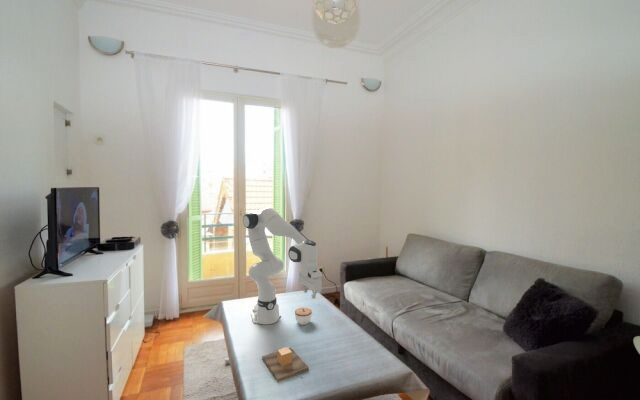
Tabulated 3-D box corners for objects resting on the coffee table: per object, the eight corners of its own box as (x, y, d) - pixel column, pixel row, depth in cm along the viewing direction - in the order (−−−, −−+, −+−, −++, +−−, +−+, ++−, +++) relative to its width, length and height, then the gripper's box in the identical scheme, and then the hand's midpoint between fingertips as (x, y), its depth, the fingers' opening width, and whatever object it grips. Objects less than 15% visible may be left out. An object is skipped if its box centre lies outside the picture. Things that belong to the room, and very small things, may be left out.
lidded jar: (312, 319, 195) (312, 305, 194) (310, 327, 184) (310, 312, 183) (296, 318, 196) (296, 304, 195) (293, 326, 185) (293, 311, 185)
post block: (262, 359, 152) (261, 349, 151) (290, 349, 160) (290, 340, 160) (277, 382, 135) (277, 370, 134) (308, 370, 143) (308, 359, 143)
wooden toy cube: (277, 360, 148) (277, 349, 148) (287, 357, 151) (287, 346, 151) (281, 366, 144) (281, 355, 143) (292, 362, 146) (291, 351, 146)
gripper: (296, 266, 170) (295, 289, 171) (313, 276, 153) (313, 303, 154) (305, 264, 173) (305, 287, 175) (323, 274, 156) (323, 300, 157)
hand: (309, 295), depth 164 cm, fingers open, 8 cm apart
